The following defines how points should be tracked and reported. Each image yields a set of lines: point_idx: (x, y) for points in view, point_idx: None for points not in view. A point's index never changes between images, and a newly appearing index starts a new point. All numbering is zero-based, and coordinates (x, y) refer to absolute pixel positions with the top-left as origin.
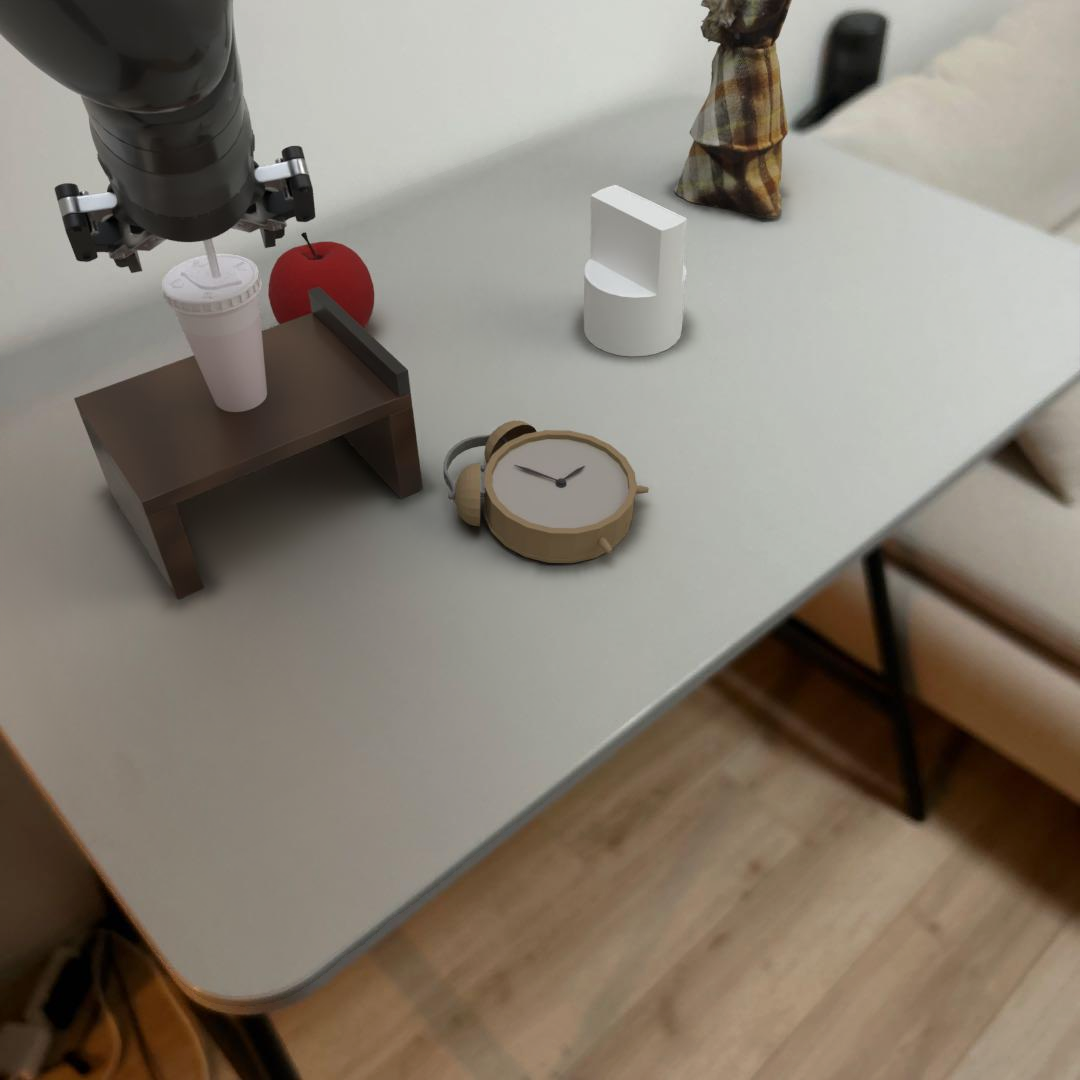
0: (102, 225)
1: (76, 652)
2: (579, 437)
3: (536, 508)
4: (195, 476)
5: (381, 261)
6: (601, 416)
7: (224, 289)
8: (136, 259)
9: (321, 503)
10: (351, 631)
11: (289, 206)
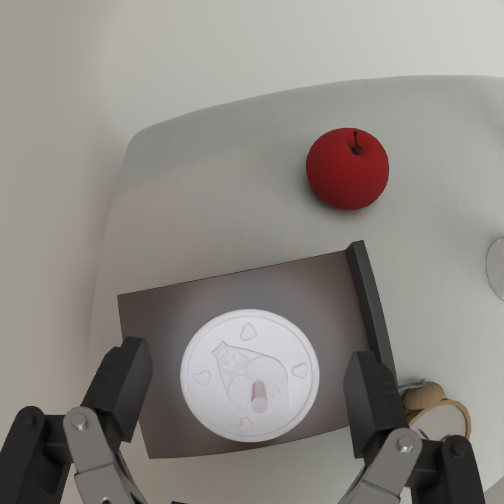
0: (68, 447)
1: None
2: (460, 409)
3: None
4: (192, 452)
5: (383, 125)
6: (473, 353)
7: (262, 416)
8: (135, 424)
9: None
10: (271, 494)
11: (415, 483)
